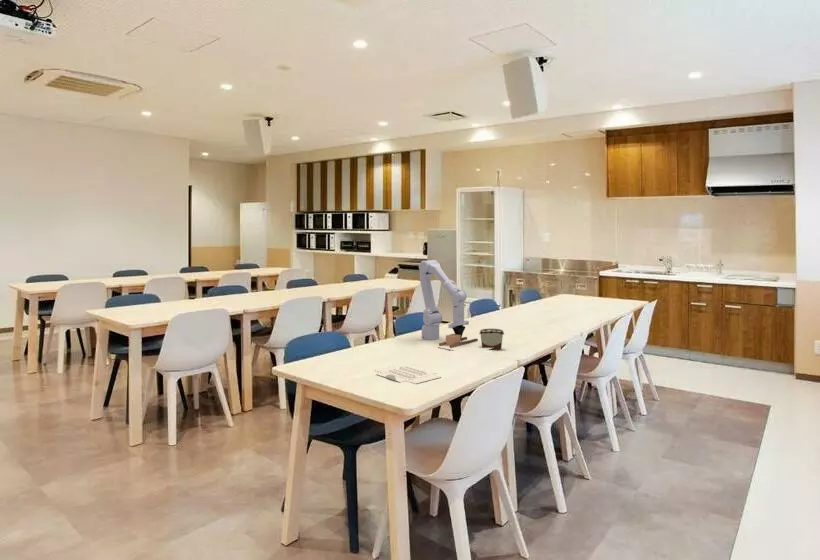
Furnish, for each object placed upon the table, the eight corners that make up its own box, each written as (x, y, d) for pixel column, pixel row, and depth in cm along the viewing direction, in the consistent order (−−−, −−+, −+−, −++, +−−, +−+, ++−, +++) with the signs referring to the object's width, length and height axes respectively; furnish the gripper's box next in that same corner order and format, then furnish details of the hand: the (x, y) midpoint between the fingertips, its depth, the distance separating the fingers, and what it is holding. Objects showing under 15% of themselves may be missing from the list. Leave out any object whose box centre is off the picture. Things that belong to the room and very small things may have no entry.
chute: (437, 347, 275) (437, 343, 274) (464, 341, 290) (464, 336, 290) (452, 350, 268) (452, 345, 267) (479, 343, 284) (479, 338, 283)
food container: (503, 347, 273) (503, 328, 272) (504, 350, 267) (504, 330, 266) (478, 347, 275) (478, 328, 274) (479, 350, 269) (479, 330, 268)
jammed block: (445, 345, 275) (445, 335, 275) (453, 343, 279) (453, 333, 279) (453, 346, 272) (453, 336, 271) (460, 344, 276) (460, 334, 276)
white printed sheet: (403, 365, 243) (403, 357, 242) (447, 380, 222) (447, 371, 221) (367, 373, 229) (367, 365, 229) (409, 390, 208) (409, 381, 208)
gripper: (456, 316, 269) (456, 343, 271) (473, 313, 280) (473, 338, 281) (445, 315, 274) (445, 341, 276) (462, 312, 285) (462, 337, 286)
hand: (458, 340), depth 279 cm, fingers closed
